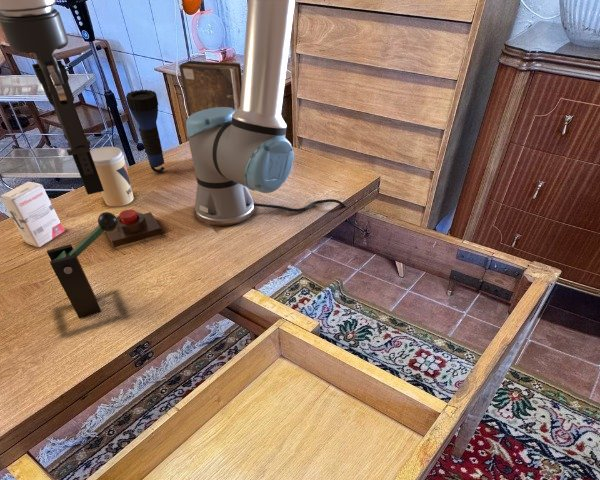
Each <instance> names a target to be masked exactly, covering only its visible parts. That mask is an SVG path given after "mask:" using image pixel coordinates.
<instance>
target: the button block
mask: <svg viewBox="0 0 600 480" xmlns="http://www.w3.org/2000/svg"><path fill="white" fill-rule="evenodd" d="M136 213H137V216H138V221H136V222H135V223H131V224H123V223H122V222H121V219H120V216H119V215H118V216H116V218H117V220H118V227H117V229H116V230H115V231H113V232H106V234H107V237H108V238H109V241H110V242H111V245H112V247H113V248H118V247H121V246H125V245H128V244H132V243H133V244H134V243H136V242H139V241H144V240H146V239H151V238H153V237H158V236H161V235H163V231H162V227H161V225H160V224H159V222H158V221H157V219H156V218H155V217H154V215H153V213H152V212H151V211H149V212H146V213H141V212H138V211H136Z"/></svg>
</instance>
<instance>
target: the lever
mask: <svg viewBox="0 0 600 480" xmlns="http://www.w3.org/2000/svg"><path fill="white" fill-rule="evenodd" d="M97 224H98V225H97V226H96V227H95V228H94V229H93V230H92V231H91V232H90V233H89V234H88V235H87V236H86V237H84V238H83V239H82V240H81V241H80V242H78V244H77V245H76V246H75V247H73V250H72V251H71V252H70V253H69V254H68V253H67V252H66V251H63V252H62V253H61V254H60V255H59V256H58V257H57V258H55V259H54V260H57V259H60V258H64V257H68V256H71V255H75V256H76V258H78V257H79V256H80V255H81V254H82V253H83V252H85V250H86V249H88V248H89V246H91V245H92V244H93V243H94V242H95V241H96V240H98V238H99V237H100V236H101V235H103V233H104V232H105V233H107V232H113V231H115V230H116V229H117V227H118V220H117V216H115V214H113V213H111V212H110V211H104V212H101V213H100V214H99V215H98V217H97Z"/></svg>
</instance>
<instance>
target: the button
mask: <svg viewBox="0 0 600 480" xmlns="http://www.w3.org/2000/svg"><path fill="white" fill-rule="evenodd" d="M136 212H137V211H136V210H135V209H125V210H122V211H121V212H120V213H119V215H118V216H120V219H121V222H122V223H123V224H131V223H135V222H136V221H138V216H137V213H136Z"/></svg>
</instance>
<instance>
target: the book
mask: <svg viewBox="0 0 600 480" xmlns="http://www.w3.org/2000/svg"><path fill="white" fill-rule="evenodd" d="M178 68H179V73H180V77H181V82H182V83H181V85H182V87H183V93H184V97H185V100H184V101H185V103H186V108H187V115H188V117H189V116H190V115H192V114H194V113H196V112H199V111H202V110H205V109H210V108H217V107H229V108H233V109H234V110H235V111H236V110H238V109H239V107H240V101H241V88H242V75H243V70H242V64H241V63H240V62H220V61H219V62H218V61H215V62H214V61H211V62H210V61H199V60H187V61H186V62H183V63H180V64H179V65H178Z"/></svg>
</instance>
